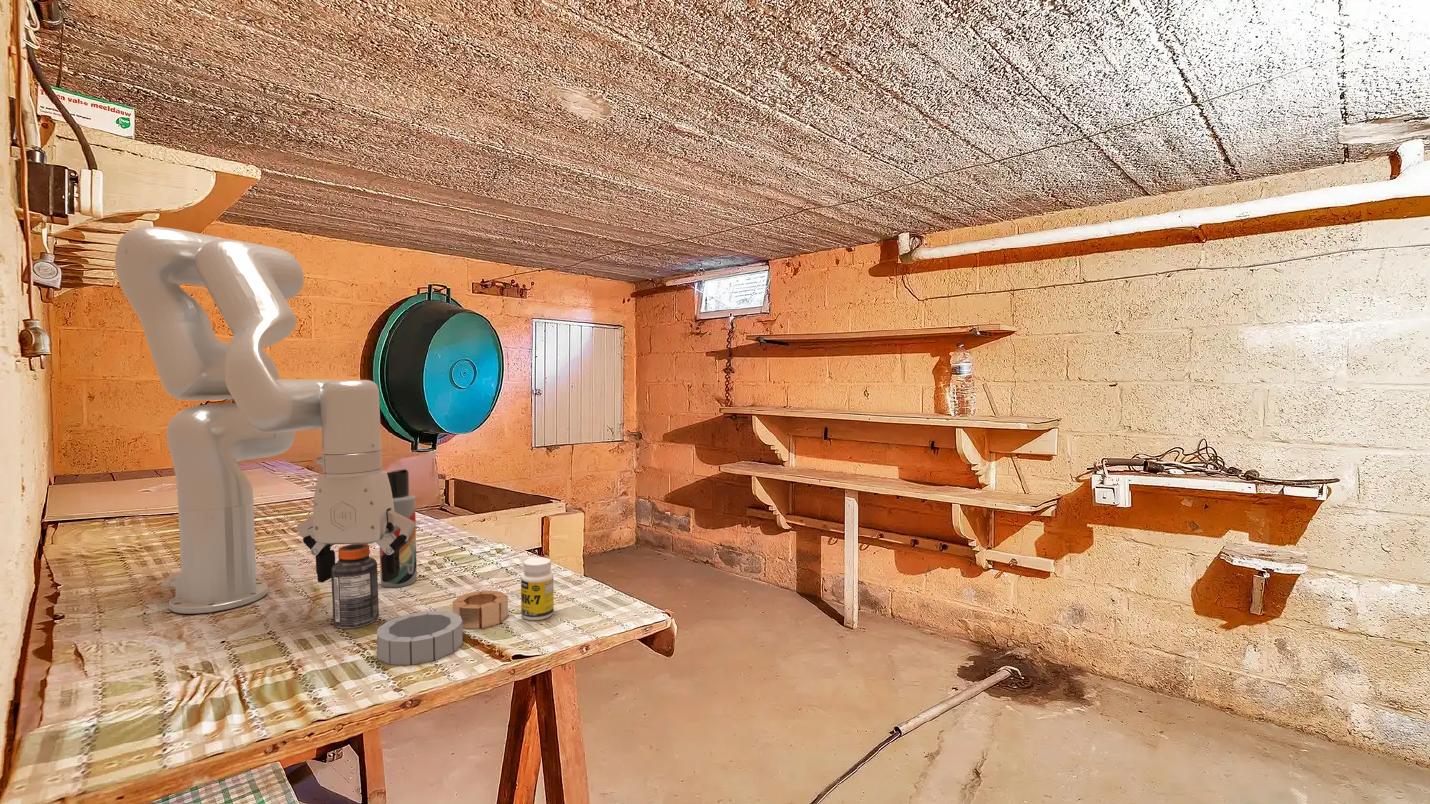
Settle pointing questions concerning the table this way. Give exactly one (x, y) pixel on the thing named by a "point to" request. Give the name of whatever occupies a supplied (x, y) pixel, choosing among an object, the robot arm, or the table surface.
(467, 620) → the wooden ring
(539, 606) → the supplement bottle
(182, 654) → the table surface
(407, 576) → the lotion bottle
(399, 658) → the grey segmented ring
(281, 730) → the table surface
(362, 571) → the pill bottle
